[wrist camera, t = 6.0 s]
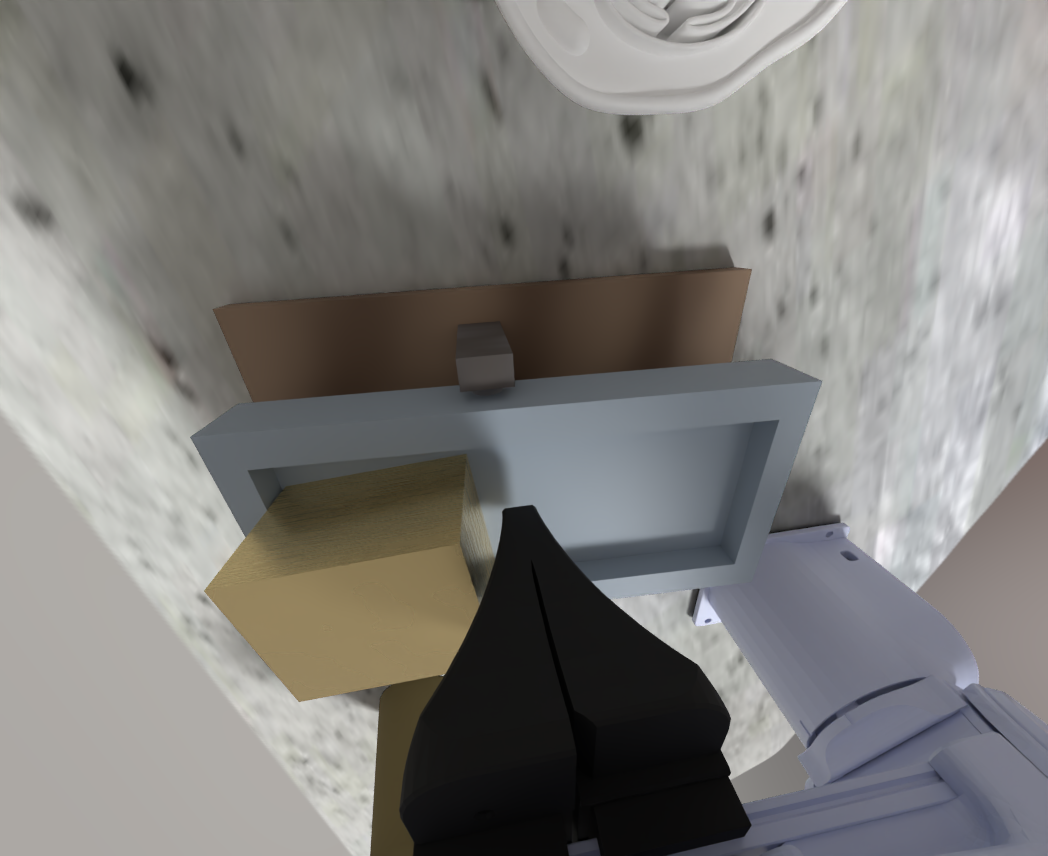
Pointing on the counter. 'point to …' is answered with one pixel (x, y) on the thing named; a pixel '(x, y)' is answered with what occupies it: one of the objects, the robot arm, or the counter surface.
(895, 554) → the counter surface
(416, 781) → the robot arm
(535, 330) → the stand
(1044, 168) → the counter surface
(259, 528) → the block
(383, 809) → the cork
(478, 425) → the beam
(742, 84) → the cell model
